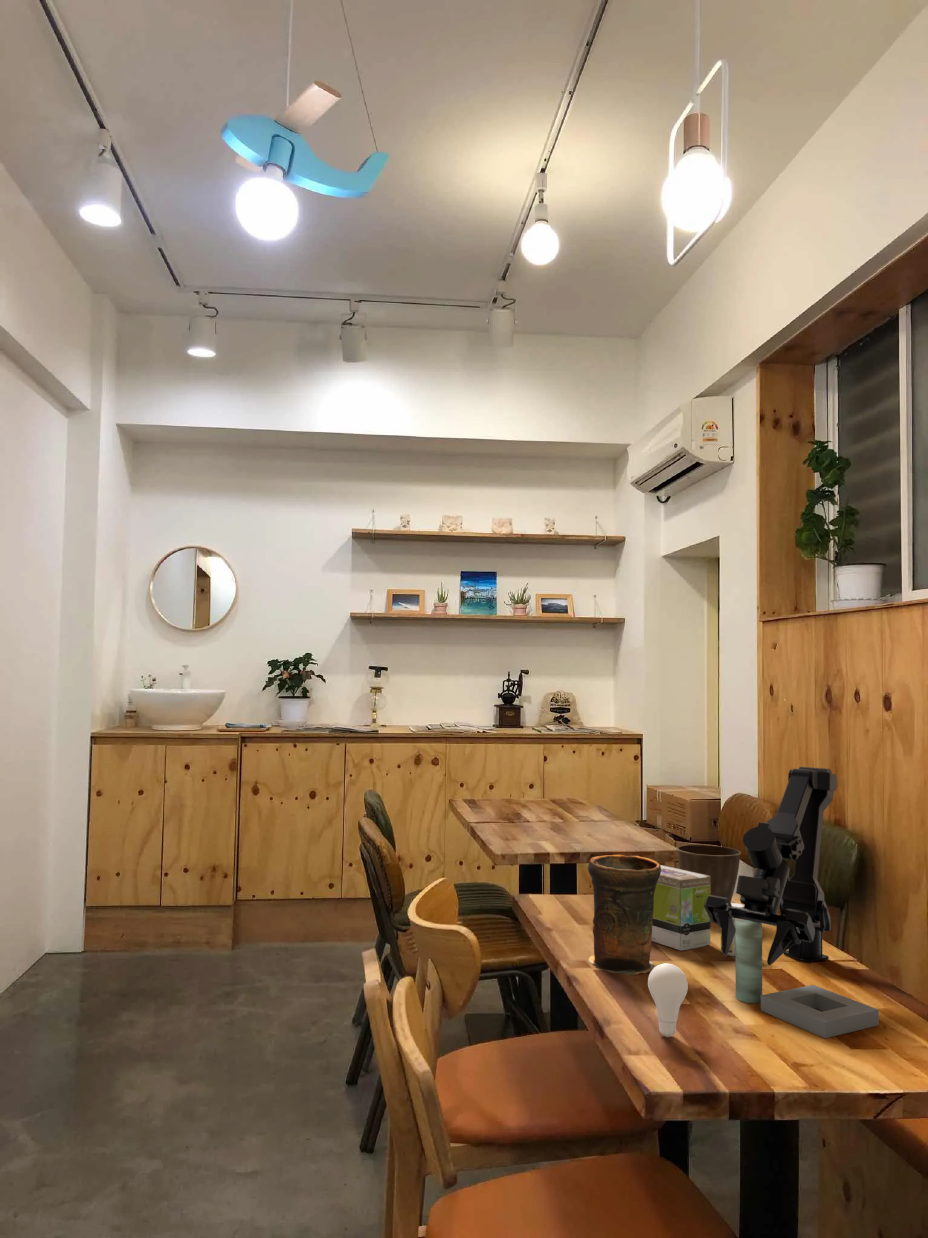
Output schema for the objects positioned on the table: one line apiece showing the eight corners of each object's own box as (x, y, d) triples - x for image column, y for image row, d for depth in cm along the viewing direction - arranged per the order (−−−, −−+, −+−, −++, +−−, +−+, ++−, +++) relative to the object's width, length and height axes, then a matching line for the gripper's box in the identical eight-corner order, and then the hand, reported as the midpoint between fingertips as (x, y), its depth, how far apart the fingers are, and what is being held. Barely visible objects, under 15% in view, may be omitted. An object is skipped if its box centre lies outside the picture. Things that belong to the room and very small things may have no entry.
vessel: (660, 955, 177) (661, 856, 179) (660, 979, 164) (660, 871, 165) (590, 949, 181) (590, 851, 182) (583, 972, 167) (584, 866, 168)
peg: (748, 993, 157) (748, 919, 158) (767, 1001, 153) (767, 925, 154) (730, 996, 154) (730, 921, 155) (749, 1005, 151) (749, 928, 152)
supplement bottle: (748, 951, 182) (748, 903, 183) (747, 958, 177) (747, 909, 178) (721, 948, 184) (721, 901, 185) (720, 955, 179) (720, 906, 180)
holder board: (813, 999, 154) (813, 985, 154) (878, 1025, 143) (878, 1009, 143) (760, 1010, 148) (760, 995, 148) (824, 1038, 137) (824, 1022, 137)
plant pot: (663, 915, 210) (664, 848, 211) (698, 906, 220) (698, 842, 221) (719, 929, 199) (719, 858, 200) (752, 919, 209) (752, 851, 210)
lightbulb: (642, 1029, 138) (643, 958, 139) (680, 1029, 139) (680, 958, 140) (654, 1045, 132) (654, 970, 133) (693, 1044, 133) (693, 970, 134)
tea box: (712, 945, 186) (712, 875, 187) (680, 952, 180) (680, 880, 181) (659, 928, 198) (660, 862, 199) (627, 934, 192) (628, 866, 194)
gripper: (708, 851, 164) (682, 922, 155) (809, 866, 153) (789, 943, 143) (724, 887, 170) (700, 957, 160) (823, 903, 158) (804, 981, 149)
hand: (746, 959), depth 153 cm, fingers open, 8 cm apart
